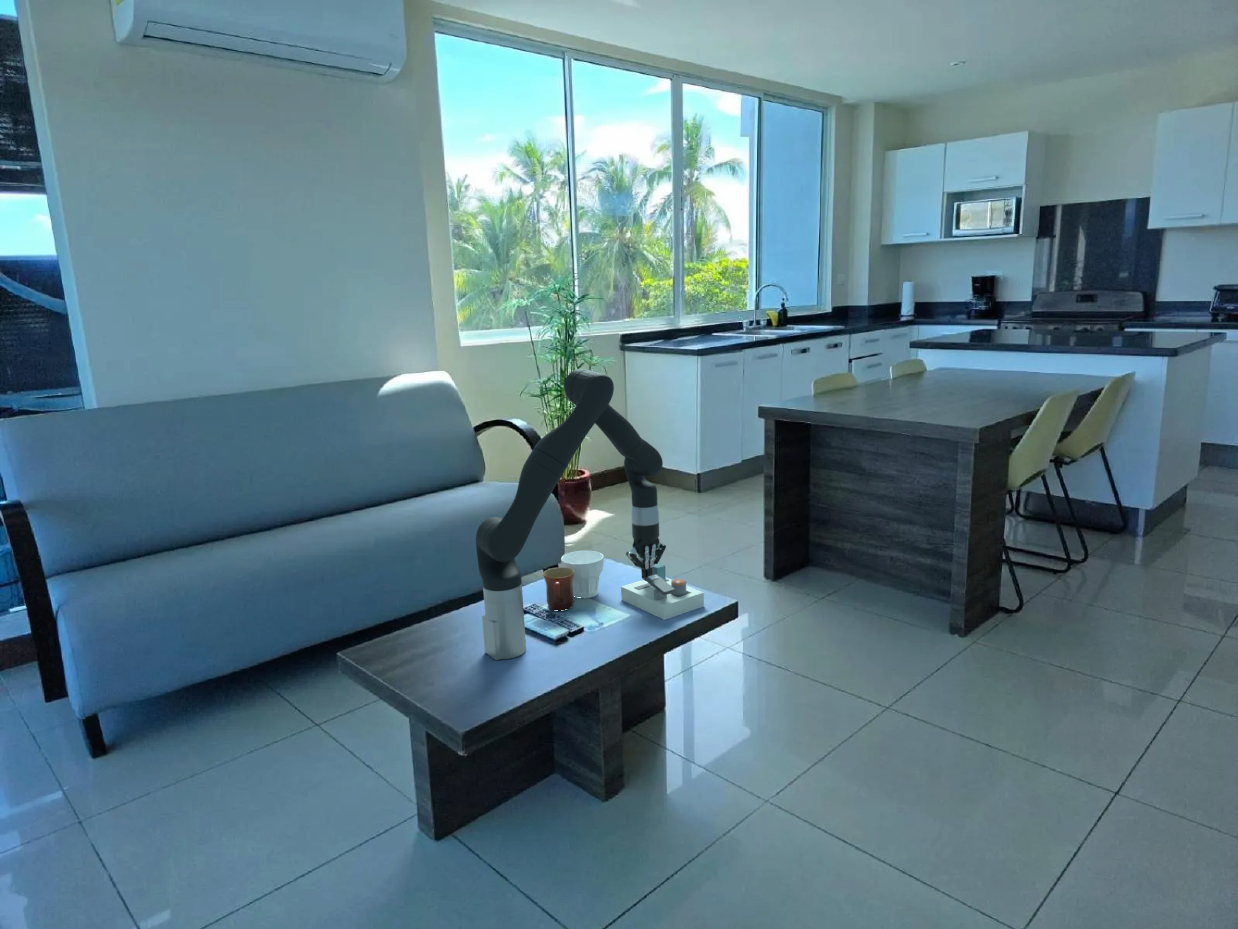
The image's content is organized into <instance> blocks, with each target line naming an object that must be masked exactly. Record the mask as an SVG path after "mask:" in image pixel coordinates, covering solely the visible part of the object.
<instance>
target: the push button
mask: <svg viewBox="0 0 1238 929" xmlns="http://www.w3.org/2000/svg"><path fill="white" fill-rule="evenodd" d="M671 580H672V581H671V586H672V587H673V588H674V589H675V592H673V593H672V595H674V596H676V597H681V596H684V595H686V586H687V581H686V580H685V579H683V578H675V579H671Z"/></svg>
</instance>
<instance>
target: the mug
mask: <svg viewBox="0 0 1238 929" xmlns="http://www.w3.org/2000/svg"><path fill="white" fill-rule="evenodd" d="M574 573H575V571H574V570H573V569H570V568H565V567H563V566H562V567H561V566H559V567H552V568H548V569H546V570H544V571H543V572H542V576H543V579H544V581H545V586H546V588H545V590H546V603H547V607H548V609H549V610H551V609H552V610H551V611H553V610H558V611H557V612H562V611H561V610H565V609H569V610H570V609H572V607H573V606H574V603H575V602H574V601H575V598H574V596H573V577H574Z"/></svg>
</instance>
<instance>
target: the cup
mask: <svg viewBox="0 0 1238 929" xmlns="http://www.w3.org/2000/svg"><path fill="white" fill-rule="evenodd" d="M604 559H605V556H604V554H603V553H601V552H600V551H596V550H595V551H594V550H575V551H570V552H568V553H564V554H563V555H562V556H561V558H560V560H561V564H562V567H565V568H570V569H573V570H574V571H575V573H574V577H573V596H575V597H581V598H584V599H591V598H594V597H596V596H598V595H599V592H600V591H599V583H600V576H601V574H602V571H604V569H603V568H604ZM581 598H580V599H581Z"/></svg>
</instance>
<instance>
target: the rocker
mask: <svg viewBox="0 0 1238 929" xmlns="http://www.w3.org/2000/svg"><path fill="white" fill-rule="evenodd" d="M646 581H647V582H648V583H649V584H650V585H652V586H653V587H654V588H655V589H657V590H658V591H659V592H660V593H661V594H663V595H667V594H670V593H673V592H675V589H674V588H673V587H672V586H671V585H669V584H668V583H667V582H665V581H664V580H663V579H662V578H660V577H659V576H658V575H657V574H656V575H652V576H649V577H646Z"/></svg>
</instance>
